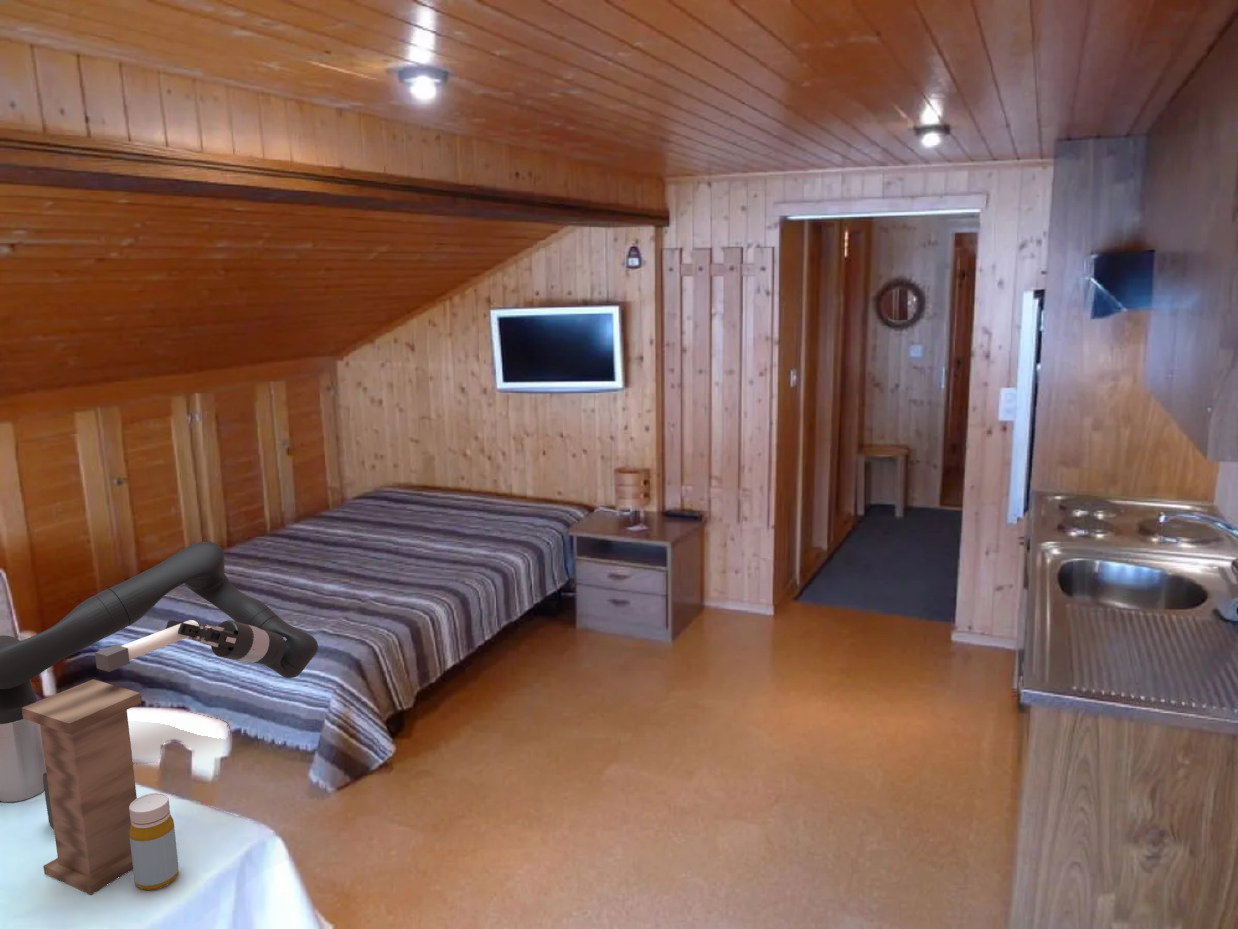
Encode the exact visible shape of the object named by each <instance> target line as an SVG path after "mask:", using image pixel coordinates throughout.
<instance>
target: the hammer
mask: <svg viewBox="0 0 1238 929" xmlns="http://www.w3.org/2000/svg"><path fill="white" fill-rule="evenodd" d="M183 623H186V624H191V625H195V626H199V624H198V623H199V622H198V621H196V620H193V619H189V620H186V621H183ZM180 625H181V624H178V625H175V626H173V627H170V628H167V629H166V628H165V629H163V630H160V631H156V632H155V633H152V634H150V635H147V636H143V637H141V638H139V639H136V640H133V641H130V642H127V643H125V644H122V645H117V644H114V645H111V646H109V647H106V648H104V649H101V650H98V651H95V652H94V656H95V657H94V658H95V664H96V669H98V670H101V671H105V672H109V673H110V672H112V671H115V670H117V669H120V668H122V667H125V666H127V665H129V664H130V661H131V660H133V659H136V658H140V657H141V656H144V655H146V654H149V653H151V652H155V651H157V650H160V649H162V648H164V647H166V646H170V645H172V644H174V643H177V642H179V641H181V640H184V639H187V638H188V637H190V636H186V635H181V634H179V633H178V630H179V627H180ZM198 629H199V628H198Z"/></svg>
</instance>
